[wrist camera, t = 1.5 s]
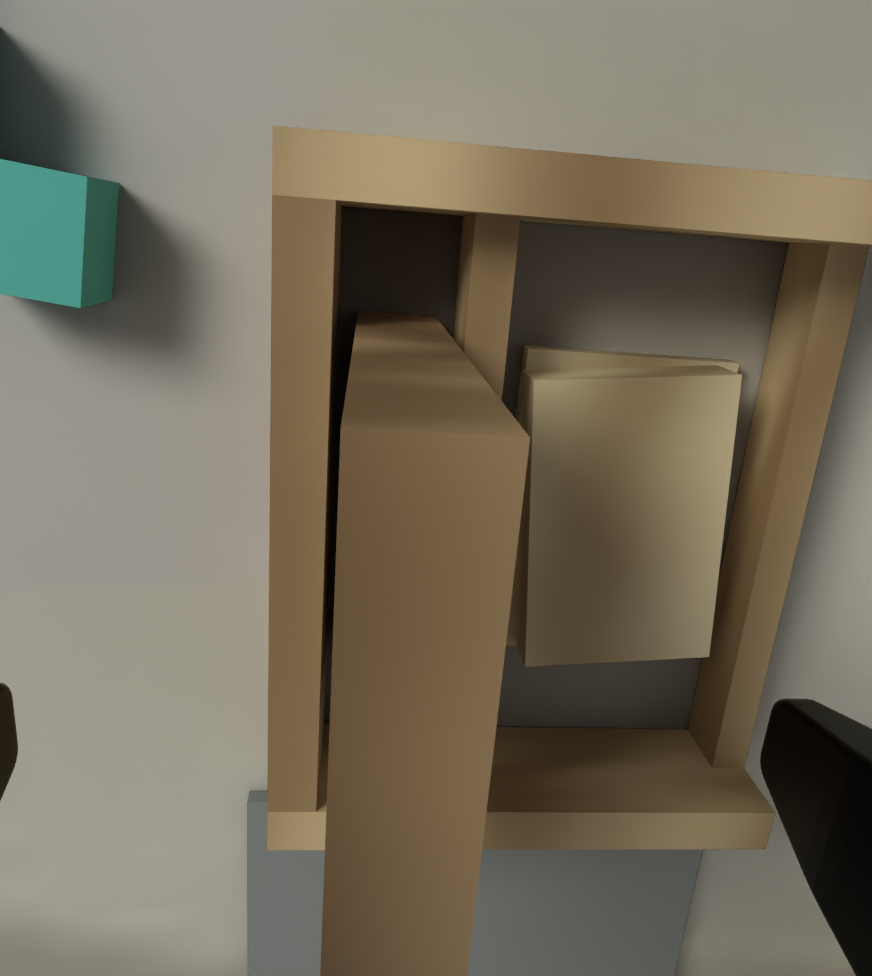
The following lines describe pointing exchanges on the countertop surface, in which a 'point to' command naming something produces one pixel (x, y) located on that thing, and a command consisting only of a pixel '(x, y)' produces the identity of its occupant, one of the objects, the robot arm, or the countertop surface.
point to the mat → (497, 909)
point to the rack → (483, 338)
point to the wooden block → (415, 647)
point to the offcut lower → (591, 359)
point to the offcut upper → (623, 511)
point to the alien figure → (56, 235)
